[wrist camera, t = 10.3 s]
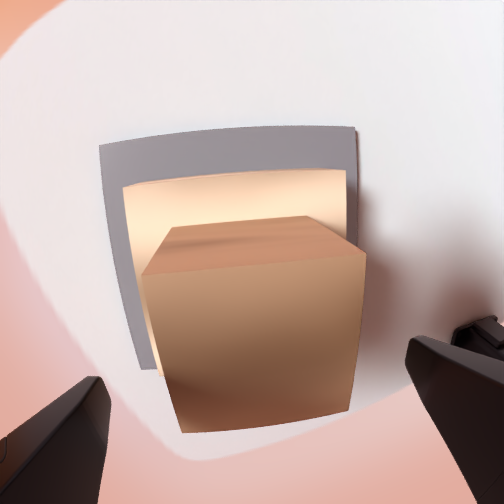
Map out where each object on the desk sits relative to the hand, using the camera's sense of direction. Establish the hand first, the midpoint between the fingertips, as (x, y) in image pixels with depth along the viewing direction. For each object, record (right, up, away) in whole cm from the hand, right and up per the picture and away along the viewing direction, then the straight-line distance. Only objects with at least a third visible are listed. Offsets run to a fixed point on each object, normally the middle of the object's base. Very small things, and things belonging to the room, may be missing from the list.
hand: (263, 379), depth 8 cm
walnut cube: (-1, +2, +7) cm, 7 cm away
